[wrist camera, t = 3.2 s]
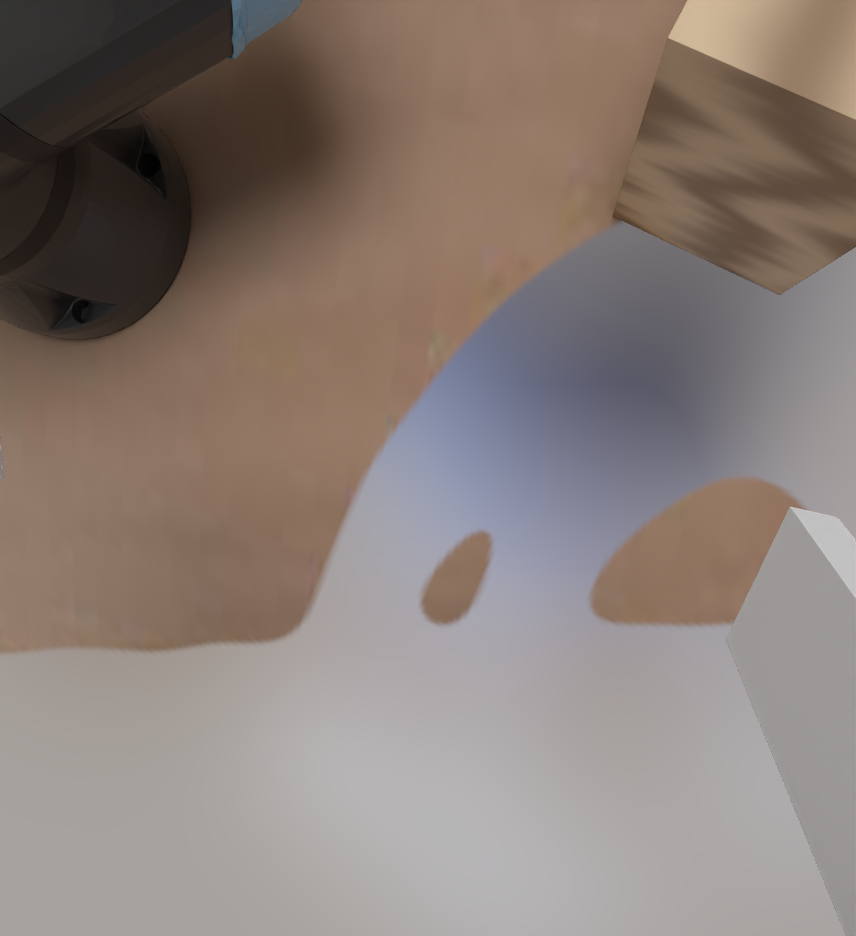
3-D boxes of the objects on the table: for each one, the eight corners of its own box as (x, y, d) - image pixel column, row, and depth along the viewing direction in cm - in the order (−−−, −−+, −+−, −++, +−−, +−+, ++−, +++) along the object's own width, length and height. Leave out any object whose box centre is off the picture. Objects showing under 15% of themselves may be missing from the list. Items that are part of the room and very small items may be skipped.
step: (612, 215, 41) (667, 38, 23) (757, -57, 39) (938, -477, 21) (779, 294, 39) (974, 171, 22) (936, 16, 38) (1286, -364, 20)
